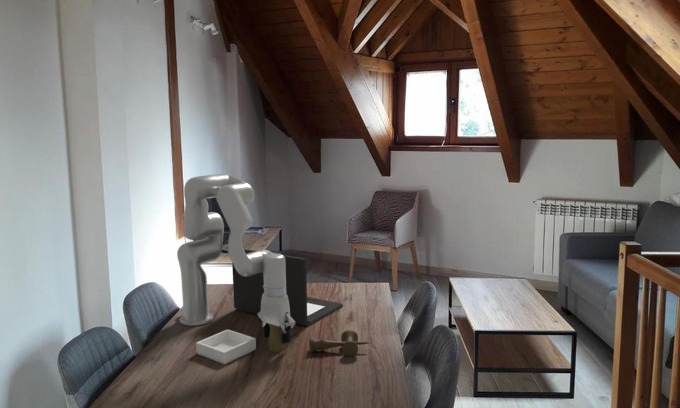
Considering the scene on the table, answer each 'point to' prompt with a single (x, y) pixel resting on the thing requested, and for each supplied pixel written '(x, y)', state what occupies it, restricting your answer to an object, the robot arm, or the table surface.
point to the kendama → (338, 343)
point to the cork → (275, 339)
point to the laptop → (296, 289)
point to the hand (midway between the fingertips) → (276, 339)
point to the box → (226, 346)
